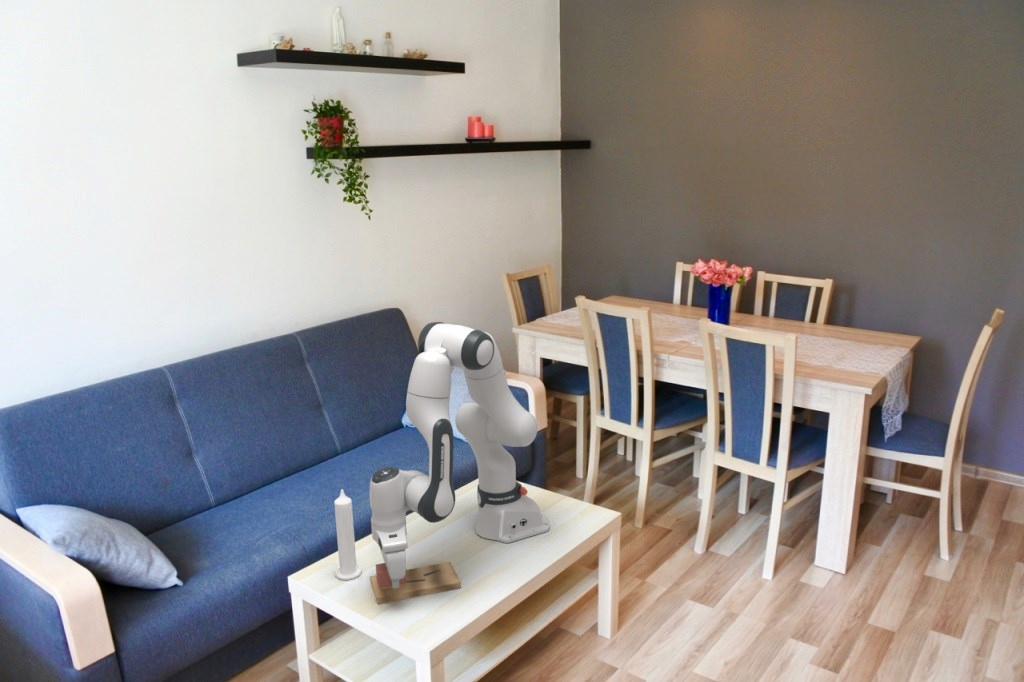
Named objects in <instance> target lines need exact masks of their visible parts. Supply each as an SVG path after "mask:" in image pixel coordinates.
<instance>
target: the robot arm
mask: <svg viewBox="0 0 1024 682" xmlns="http://www.w3.org/2000/svg"><path fill="white" fill-rule="evenodd" d="M418 335H419V336H418V340H417V348H418V349H417V350H418V354H417V356H416V358H415V359H414V362H413V366H412V368H411V371H410V376H409V378H408V379H409V380H408V385H407V390H406V399H405V409H406V416H407V418H408V420H409V422H411V424H412V425H413V426H414V427H415V428H416V429H417V430H418V432H419V433H420V434H421V435H422V436H423V438H424V440H425V442H426V444H427V446H428V447H427V448H428V453H429V455H428V456H429V458H428V459H429V461H428V464H429V465H428V475H427V474H425V473H424V472H421V471H419V470H417V469H408V470H402V469H399V468H398V467H395V466H387V467H383V468H379V469H378V470H376V471H375V472H373V474H372V476H371V478H370V482H369V507H370V510H371V518H370V523H371V524H370V525H371V537H372V539H373V541H374V542H375V543H376V544H377V545H378V547H379V550H380V554H381V556H382V559H383V561H384V562H383V563H385V565H386V567H387V570H388V573H389V576H390V579H391V584H392V588H394V589H395V588H399V580H400V579H403V578H404V577H405V571H406V570H407V569H406V567H407V564H406V562H407V561H406V560H407V559H406V557H407V555H406V554H407V553H406V552H407V551H406V550H407V549H408V547H409V545H408V538H407V534H408V532H407V515H406V514H407V512H409V511H412V512H414V513H416V514H418V515H419V516H420V517H421V518H423V519H424V520H426V522H428V523H433V524H435V523H439V522H442V521H443V520H445V519H447V517H449V516H450V515H451V513H452V512H453V510H454V508H455V505H456V492H455V488H454V487H455V486H454V480H453V479H454V429H453V425H452V423H451V422H452V421H451V416H450V398H451V397H450V396H451V390H452V389H451V387H452V373H453V371H454V369H455V368H460V369H461V368H462V370H463V374H464V378H465V384H466V387H467V391H468V396H470V398H471V399H472V401H473V402H465V403H462V404H461V406H459V408H458V409H457V412H456V414H455V419H454V422H455V427H456V430H457V432H458V433H459V434H461V436H463V438H464V439H465V440H466V441H467V443H468V445H469V446H470V448H471V450H472V453H473V455H474V457H475V461H476V466H477V477H478V485H477V486H476V487H477V488H476V489H477V491H476V498H477V500H476V501H477V505H478V509H477V518H476V522H475V526H474V532H475V533H476V534H477V535H478V536H479V537H480V538H481V537H482V538H483V539H486V540H487V539H488V540H492V541H498V542H501V543H503V544H504V543H505V544H509V543H514V542H516V541H520V540H522V539H526V538H529V537H532V536H536V535H540V534H543V533H546V532H548V531H550V521H549V520H548V518H547V517H546V516H545V514H544V513H542V511H541V509H540V508H541V507H540V505H538V503H537V502H536V501H535V500H534V499H532V498H531V497H529V496H528V495H527V494H528V489H526V487H524V486H523V485H522V484H521V483H520V482H518V481H517V480H516V477H517V476H516V473H517V472H516V471H517V469H516V461H515V459H514V458H515V457H514V456H513V455H511V454H510V452H508V450H506V449H505V447H504V446H506V447H510V448H511V447H515V448H516V447H517V448H519V447H522V448H523V447H527V446H529V445H531V444H532V443H533V442H534V440H535V439H536V436H537V434H538V423H537V420H536V418H535V416H534V415H533V414H532V413H531V412H529V411H528V410H526V408H525V407H523V406H522V405H521V403H520V402H519V401H518V400H517V399H516V398H515V396H514V394H513V392H512V391H511V389H510V387H509V385H508V382H507V381H508V380H507V378H506V374H505V370H504V365H503V360H502V356H501V353H500V350H499V348H498V345H497V343H496V341H495V338H494V337H493V335H492V334H490V333H488V332H486V331H483V330H480V329H474V328H472V327H469V326H465V325H462V324H453V323H444V322H443V321H434V322H433V321H432V322H428V323H427V324H425V326H424V327H423V328H422V329H421V330H420V333H419V334H418Z"/></svg>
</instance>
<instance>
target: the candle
mask: <svg viewBox="0 0 1024 682" xmlns="http://www.w3.org/2000/svg"><path fill="white" fill-rule="evenodd" d="M352 503H353V501H352V498H350V497H349V496H346V494H345V491H344V489H343V488H342V489H340V493H339V496H338V497H337V498H336V499H334V502H333V504H334V515H335V517H334V518H335V525H336V526H335V527H336V539H337V551H338V562H339V563H338V564H339V567H338V568H337V569H336V570H335V572H334V574H335V577H336V579H338V580H341V581H350V580H351V581H352V580H355V579H357V578H359V577H360V576H361V575H362V573H363V571H362V567H360V566H359V565H357V555H356V553H357V552H356V542H355V541H356V540H355V528H354V516H353V515H354V514H353V504H352Z"/></svg>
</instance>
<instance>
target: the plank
mask: <svg viewBox="0 0 1024 682" xmlns="http://www.w3.org/2000/svg"><path fill="white" fill-rule="evenodd" d="M369 577H370V578H369V579H370V584H371V587H372V591H373V594H374V597H375V601H376V603H377V605H380V604H381V605H382V604H386V603H392V602H396V601H401V600H407V599H411V598H417V597H421V596H426V595H432V594H437V593H441V592H442V593H443V592H448V591H453V590H457V589H461V588H462V584H461V583H462V582H461V580H460V578H459V576H458V574H457V572H456V569H455V568H454V566H453V564H452V562H451V561H446V562H441V563H436V564H429V565H424V566H419V567H413V568H408V569H406V585H405V586H400V587H399V588H395V589H394V588H389V589H384V590H379V587H378V584H377V578H376V574H374V575H371V576H369Z"/></svg>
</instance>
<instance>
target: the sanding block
mask: <svg viewBox="0 0 1024 682" xmlns="http://www.w3.org/2000/svg"><path fill="white" fill-rule="evenodd" d="M375 572H376V573H375V575H376V578H377V584H378V587H379V590H384V589H389V588H392V584H391V579H390V576H389V573H388V570H387V567H386V565H385V562H382V563H376V564H375ZM405 585H406V571H405V577H404V578H403V579H400V580H399V587H400V586H405Z"/></svg>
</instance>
